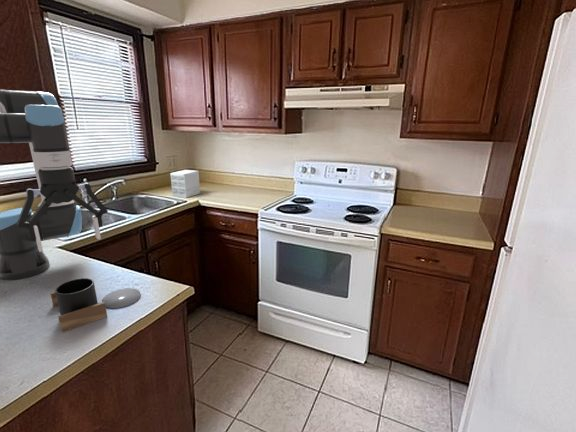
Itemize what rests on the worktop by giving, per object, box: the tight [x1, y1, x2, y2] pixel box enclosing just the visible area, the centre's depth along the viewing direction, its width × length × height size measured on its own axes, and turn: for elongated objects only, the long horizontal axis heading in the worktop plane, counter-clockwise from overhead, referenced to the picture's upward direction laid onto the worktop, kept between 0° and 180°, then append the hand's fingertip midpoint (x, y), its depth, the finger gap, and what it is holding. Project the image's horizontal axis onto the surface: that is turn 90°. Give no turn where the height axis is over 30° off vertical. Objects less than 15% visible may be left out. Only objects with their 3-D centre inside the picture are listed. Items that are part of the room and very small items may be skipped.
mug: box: [54, 277, 99, 316], centre depth 93 cm, size 9×12×9 cm
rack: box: [50, 291, 108, 333], centre depth 94 cm, size 17×11×4 cm, turn 42°
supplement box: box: [169, 169, 201, 199], centre depth 239 cm, size 17×13×18 cm
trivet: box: [101, 287, 141, 309], centre depth 101 cm, size 11×11×1 cm
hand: (70, 243), depth 88 cm, fingers open, 13 cm apart
